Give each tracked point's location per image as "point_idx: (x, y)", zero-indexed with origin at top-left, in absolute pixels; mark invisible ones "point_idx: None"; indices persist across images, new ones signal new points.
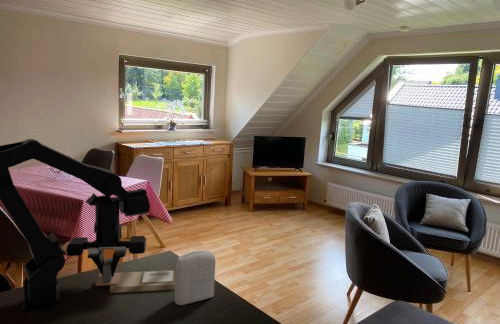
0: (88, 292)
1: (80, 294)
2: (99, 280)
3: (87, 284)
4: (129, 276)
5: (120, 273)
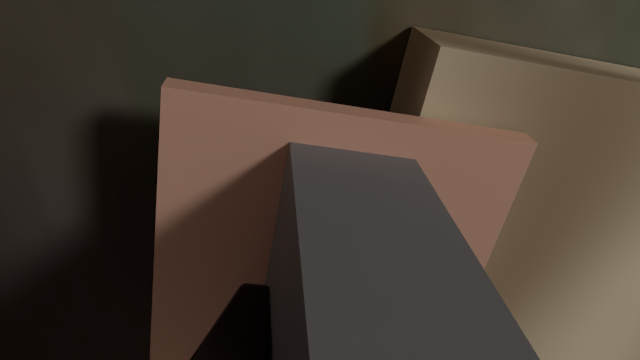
0: (85, 326)
1: (3, 348)
2: (186, 333)
3: (7, 136)
4: (617, 236)
5: (526, 146)
